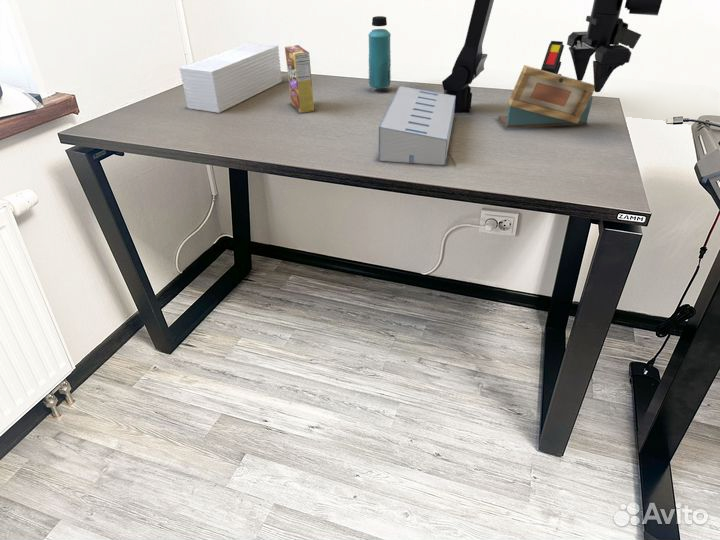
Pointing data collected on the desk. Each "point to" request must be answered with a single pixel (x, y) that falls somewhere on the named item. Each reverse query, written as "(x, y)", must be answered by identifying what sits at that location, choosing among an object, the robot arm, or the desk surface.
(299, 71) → the candy box
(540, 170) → the desk surface
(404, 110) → the warehouse
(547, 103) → the picture frame
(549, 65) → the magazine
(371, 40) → the beverage bottle
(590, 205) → the desk surface
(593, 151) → the desk surface
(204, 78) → the stack of papers
